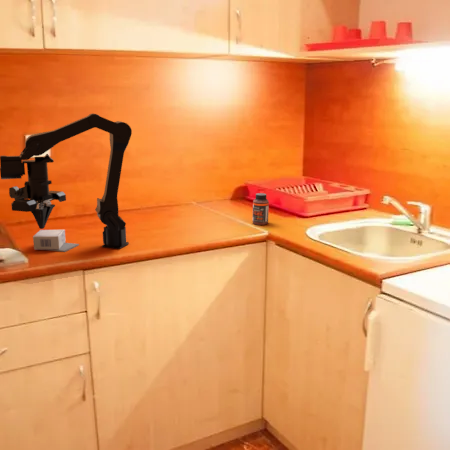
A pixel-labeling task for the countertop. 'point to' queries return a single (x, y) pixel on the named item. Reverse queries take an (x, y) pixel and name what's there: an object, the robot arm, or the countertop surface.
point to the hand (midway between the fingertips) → (41, 228)
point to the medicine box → (49, 239)
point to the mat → (66, 247)
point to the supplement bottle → (260, 209)
